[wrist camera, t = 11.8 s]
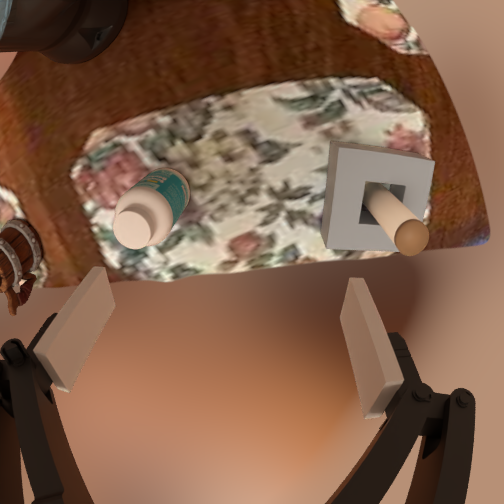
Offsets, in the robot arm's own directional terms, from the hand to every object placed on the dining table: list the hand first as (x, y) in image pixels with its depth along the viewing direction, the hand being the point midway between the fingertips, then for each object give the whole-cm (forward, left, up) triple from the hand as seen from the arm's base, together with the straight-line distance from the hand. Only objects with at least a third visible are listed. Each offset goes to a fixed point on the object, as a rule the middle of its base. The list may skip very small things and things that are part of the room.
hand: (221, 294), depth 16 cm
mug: (+15, -45, -29) cm, 56 cm away
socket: (+3, +18, -29) cm, 34 cm away
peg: (+3, +18, -29) cm, 34 cm away
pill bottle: (+4, -12, -29) cm, 32 cm away
